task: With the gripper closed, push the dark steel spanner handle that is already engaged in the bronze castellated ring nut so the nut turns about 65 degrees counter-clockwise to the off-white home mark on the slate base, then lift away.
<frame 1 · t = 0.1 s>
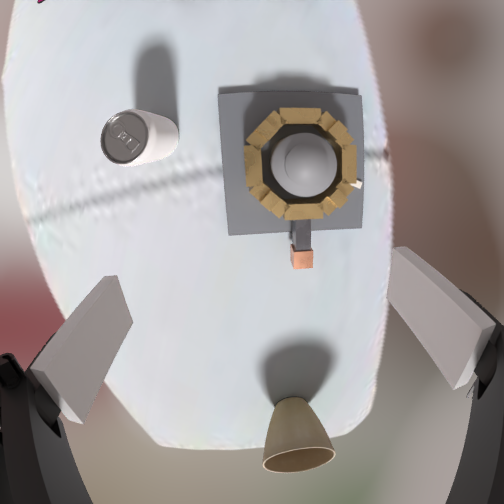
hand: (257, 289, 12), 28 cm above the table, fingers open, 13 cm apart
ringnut: (301, 190, 34), point 4 cm above the table, hinge at 0.0°
can: (158, 138, 35), on the table
plant pot: (290, 405, 57), on the table
base: (295, 161, 37), on the table
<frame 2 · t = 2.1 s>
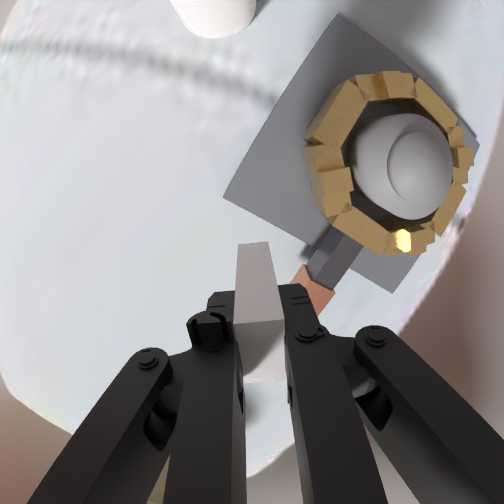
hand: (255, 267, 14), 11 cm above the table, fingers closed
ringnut: (375, 199, 19), point 4 cm above the table, hinge at 0.0°
can: (218, 12, 17), on the table
plant pot: (171, 438, 40), on the table
base: (374, 158, 22), on the table
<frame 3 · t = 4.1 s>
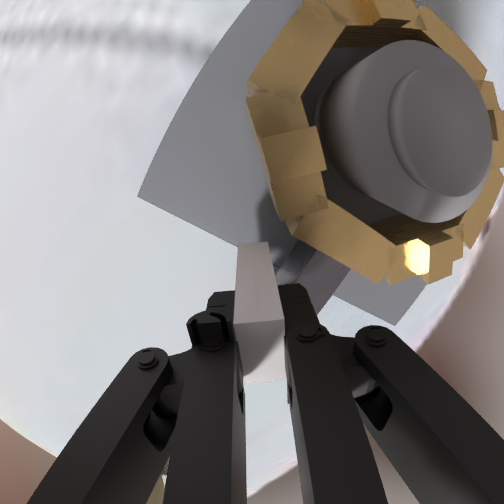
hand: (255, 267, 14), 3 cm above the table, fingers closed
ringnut: (370, 189, 11), point 4 cm above the table, hinge at 0.0°, touching gripper
plant pot: (139, 466, 31), on the table
base: (368, 130, 14), on the table
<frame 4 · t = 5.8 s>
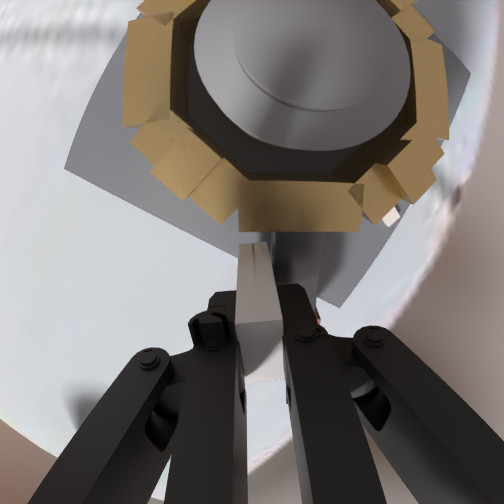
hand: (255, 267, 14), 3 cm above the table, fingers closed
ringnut: (298, 142, 11), point 4 cm above the table, hinge at 29.4°, touching gripper
base: (284, 85, 13), on the table
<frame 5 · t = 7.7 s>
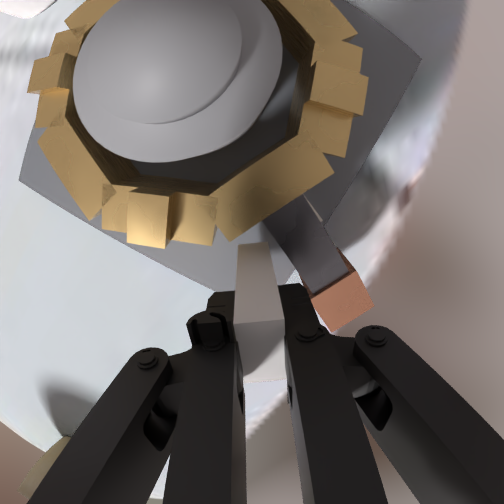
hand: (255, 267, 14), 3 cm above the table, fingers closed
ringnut: (230, 134, 11), point 4 cm above the table, hinge at 64.8°
plant pot: (81, 446, 30), on the table
base: (199, 91, 13), on the table
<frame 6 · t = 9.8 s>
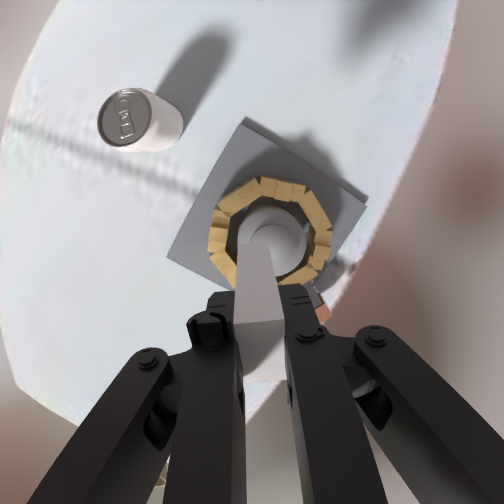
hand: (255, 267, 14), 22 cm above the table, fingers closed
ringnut: (285, 260, 34), point 4 cm above the table, hinge at 64.8°
can: (160, 127, 31), on the table
base: (266, 228, 37), on the table
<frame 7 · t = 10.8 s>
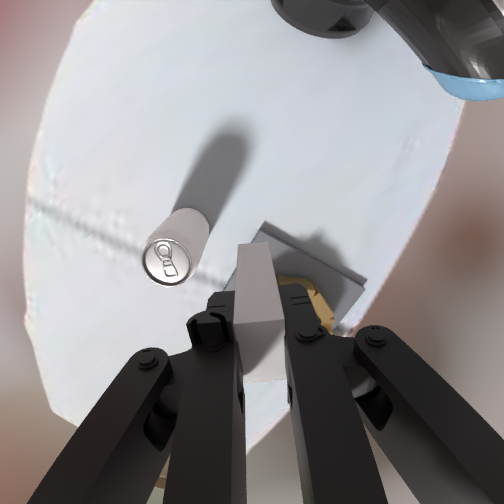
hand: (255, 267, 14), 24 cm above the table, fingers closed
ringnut: (296, 338, 41), point 4 cm above the table, hinge at 64.8°
can: (188, 228, 39), on the table
base: (281, 308, 44), on the table
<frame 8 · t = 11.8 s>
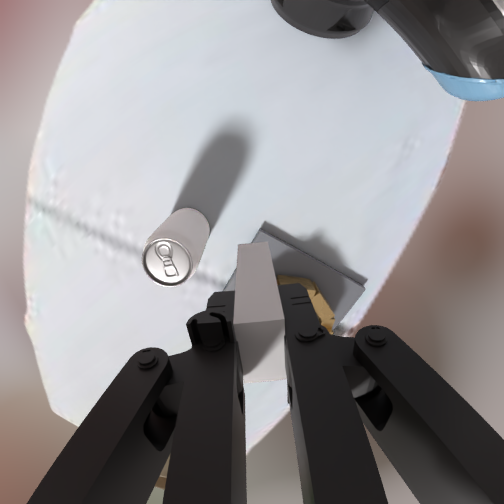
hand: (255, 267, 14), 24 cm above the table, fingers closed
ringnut: (297, 337, 41), point 4 cm above the table, hinge at 64.8°
can: (188, 228, 39), on the table
base: (282, 308, 44), on the table
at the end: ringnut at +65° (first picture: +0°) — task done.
